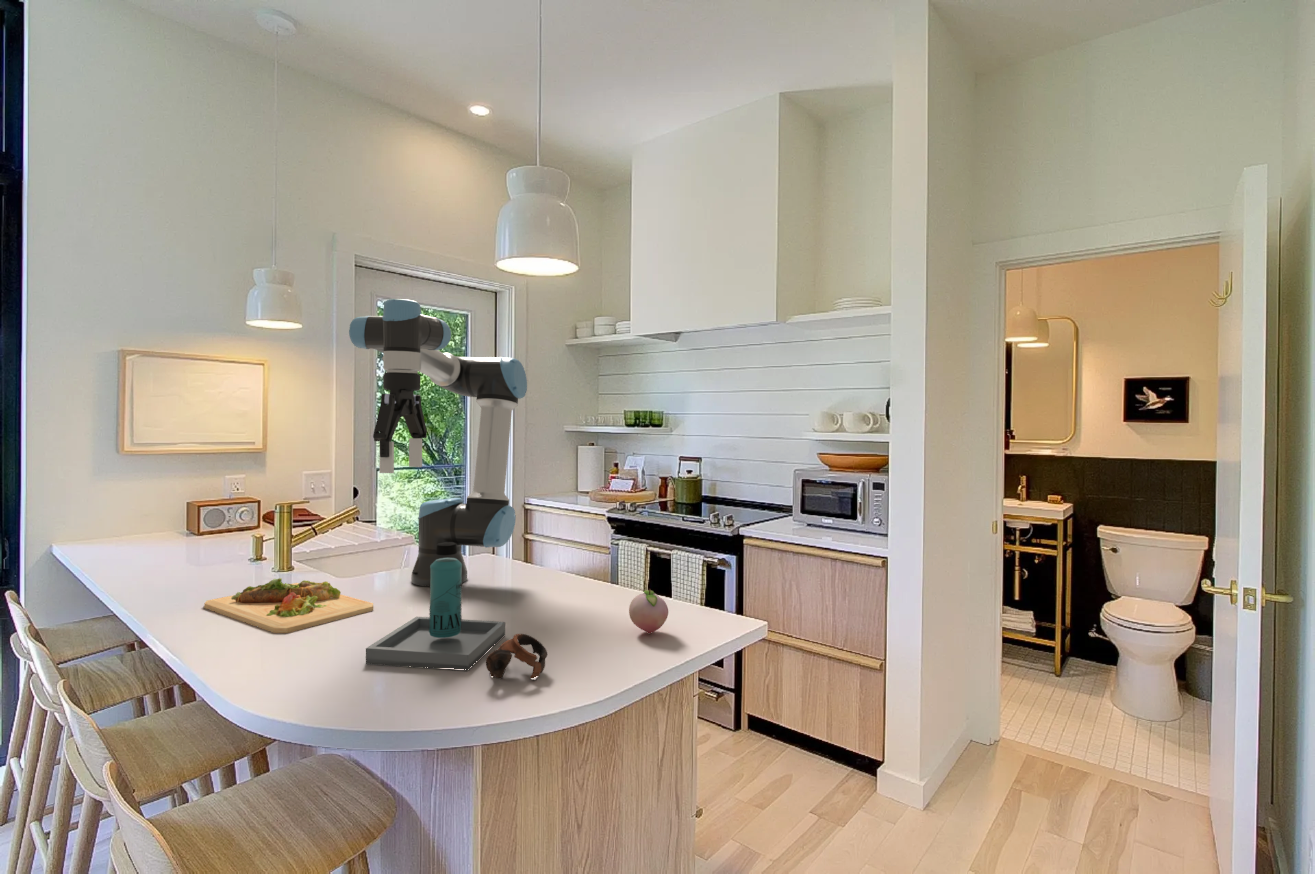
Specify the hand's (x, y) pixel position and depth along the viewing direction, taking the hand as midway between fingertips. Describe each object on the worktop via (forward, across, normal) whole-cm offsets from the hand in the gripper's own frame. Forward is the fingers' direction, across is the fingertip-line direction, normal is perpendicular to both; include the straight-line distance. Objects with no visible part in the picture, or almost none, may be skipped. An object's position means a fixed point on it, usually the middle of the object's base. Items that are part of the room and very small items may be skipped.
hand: (401, 469), depth 142 cm
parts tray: (+35, +12, +14) cm, 39 cm away
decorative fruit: (+35, -4, +54) cm, 65 cm away
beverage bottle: (+34, +9, +14) cm, 38 cm away
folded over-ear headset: (+35, +23, +32) cm, 53 cm away
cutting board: (+36, -10, -32) cm, 49 cm away
